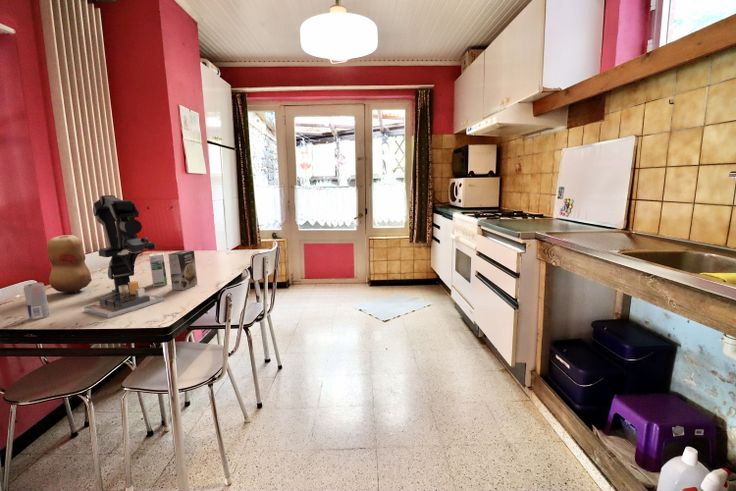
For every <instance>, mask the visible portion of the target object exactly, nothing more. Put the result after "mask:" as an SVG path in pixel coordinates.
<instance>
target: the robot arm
mask: <svg viewBox="0 0 736 491" xmlns="http://www.w3.org/2000/svg"><path fill="white" fill-rule="evenodd" d="M92 213H93V216H94V217H95V218H96V221H97V223H99V224H100V225H101V226H103V227H102V228H103V230H104V234H105V237H106V241H107V244H108V247H103V248H100V249H99V250H98V256H99V257H102V258H110V260H109V263H108V267H107V278H108V279H109V280H110V281H112V280H113V283H114V289H111V292H113V293H119V286H121V285H128V290H129V284H128V282H131V278H130V277H133V276H135V264H136V259H137V257H138V256H139V255H140V254H142V252H143V251H145V249H146V250H148V251H151V250H155V249H156V244H155V242H153V241H149V237H142V238H139V237H138V234H139V233H140V232H141V231H142V229H143V225H142V223H141V222H140V220H138V219H136V218H139V217H140V216H139V215H140V214H139V213H140V212H139V210H138V208H137V206H136V204H135V202H133V201H132V200H131V199H120V198H118V197H116V196H115V195H113V194H112V195H111V194H110V195H109V194H107V195H101V196H99V199H98V200H97V201H96V202H94V203H93V207H92ZM129 291H130V290H129Z"/></svg>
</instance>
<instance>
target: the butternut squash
mask: <svg viewBox="0 0 736 491" xmlns="http://www.w3.org/2000/svg"><path fill="white" fill-rule="evenodd" d="M46 247H47V256H48V259H49V262H50V264H51V270H50V274H49V279H48V281H49V285H50V286H51V288H53V290H55V291H56V292H59V293H60V292H61V293H67V294H72V293H78V292H79V291H81V290H82V289H85V288H87V287H88V286H89V284H90V283H91V282H92V280H93V279H92V275H91V272H90V269H89V268H88V266H87V264H86V262H85V261H86V255H85V253H84V249H83V243H82V240H81V239H80V238H79V237H77V236H76V235H73V234H67V235H66V234H65V235H64V234H63V235H58V236H55V237H52V238H50V239H49V240H48V242H47V244H46Z"/></svg>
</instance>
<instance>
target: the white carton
mask: <svg viewBox="0 0 736 491" xmlns="http://www.w3.org/2000/svg"><path fill="white" fill-rule="evenodd" d="M45 287H46V286H45V284H44V283H43V282H35V283H29V284H25V285H24V286H23V293H24V297H25V303H26V308H27V313H28V317H29V320H33V321H34V320H35V321H36V320H41V319H44V318H47V317H50V307H49V303H48V302H49V301H48V298H47V292H46V288H45Z"/></svg>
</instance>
